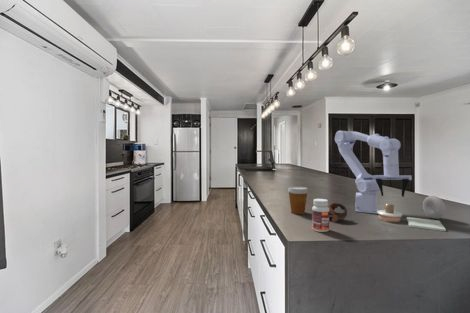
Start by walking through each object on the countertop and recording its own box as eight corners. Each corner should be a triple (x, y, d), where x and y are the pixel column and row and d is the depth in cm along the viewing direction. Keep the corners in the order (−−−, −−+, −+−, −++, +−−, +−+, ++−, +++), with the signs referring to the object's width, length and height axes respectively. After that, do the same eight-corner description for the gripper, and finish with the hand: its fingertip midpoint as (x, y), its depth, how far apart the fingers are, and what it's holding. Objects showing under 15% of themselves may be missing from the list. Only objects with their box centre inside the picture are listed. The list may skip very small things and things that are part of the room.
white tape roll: (447, 221, 103) (448, 197, 103) (439, 221, 103) (440, 198, 103) (427, 215, 113) (428, 193, 113) (420, 215, 113) (420, 193, 113)
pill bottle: (324, 233, 89) (324, 202, 89) (308, 229, 94) (308, 199, 93) (332, 229, 93) (332, 200, 93) (317, 226, 98) (317, 197, 97)
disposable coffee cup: (296, 216, 113) (297, 189, 112) (283, 211, 121) (283, 187, 121) (312, 213, 117) (312, 188, 117) (298, 209, 126) (298, 185, 125)
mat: (409, 226, 97) (409, 224, 97) (406, 218, 108) (406, 216, 108) (445, 231, 91) (445, 229, 91) (439, 222, 102) (439, 220, 102)
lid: (376, 214, 105) (376, 205, 105) (377, 210, 113) (377, 201, 113) (403, 217, 100) (403, 207, 100) (401, 212, 108) (401, 203, 108)
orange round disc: (377, 220, 105) (377, 214, 105) (378, 216, 113) (378, 210, 112) (402, 223, 101) (402, 217, 101) (400, 218, 108) (400, 213, 108)
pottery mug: (343, 217, 112) (349, 204, 107) (342, 232, 104) (349, 218, 100) (316, 209, 115) (320, 195, 111) (313, 223, 107) (318, 209, 103)
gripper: (372, 166, 111) (373, 196, 110) (411, 165, 104) (413, 198, 103) (372, 165, 117) (373, 194, 116) (410, 165, 110) (411, 195, 109)
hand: (392, 196), depth 110 cm, fingers open, 7 cm apart
